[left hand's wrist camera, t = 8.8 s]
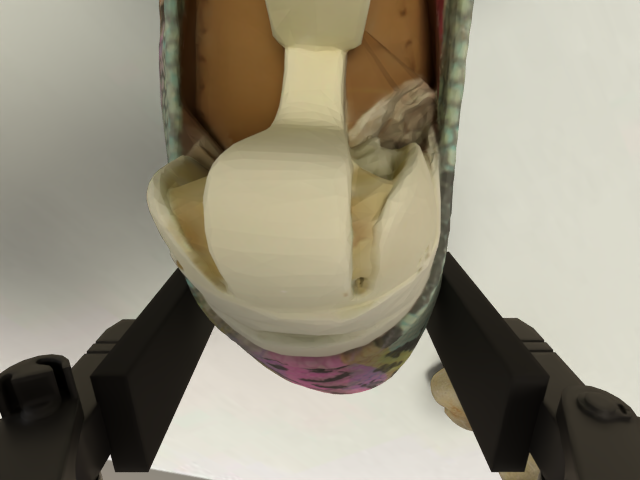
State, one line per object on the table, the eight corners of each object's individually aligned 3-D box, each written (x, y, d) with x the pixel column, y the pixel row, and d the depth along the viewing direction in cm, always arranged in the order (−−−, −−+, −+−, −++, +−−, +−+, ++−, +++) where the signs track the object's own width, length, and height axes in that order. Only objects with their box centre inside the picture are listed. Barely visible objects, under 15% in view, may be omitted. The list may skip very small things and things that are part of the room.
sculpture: (415, 366, 29) (501, 613, 15) (501, 320, 28) (683, 548, 14) (450, 414, 31) (557, 676, 17) (533, 373, 30) (725, 623, 16)
